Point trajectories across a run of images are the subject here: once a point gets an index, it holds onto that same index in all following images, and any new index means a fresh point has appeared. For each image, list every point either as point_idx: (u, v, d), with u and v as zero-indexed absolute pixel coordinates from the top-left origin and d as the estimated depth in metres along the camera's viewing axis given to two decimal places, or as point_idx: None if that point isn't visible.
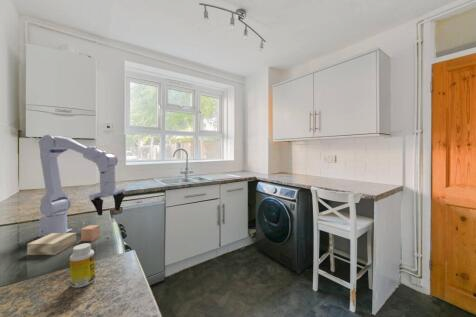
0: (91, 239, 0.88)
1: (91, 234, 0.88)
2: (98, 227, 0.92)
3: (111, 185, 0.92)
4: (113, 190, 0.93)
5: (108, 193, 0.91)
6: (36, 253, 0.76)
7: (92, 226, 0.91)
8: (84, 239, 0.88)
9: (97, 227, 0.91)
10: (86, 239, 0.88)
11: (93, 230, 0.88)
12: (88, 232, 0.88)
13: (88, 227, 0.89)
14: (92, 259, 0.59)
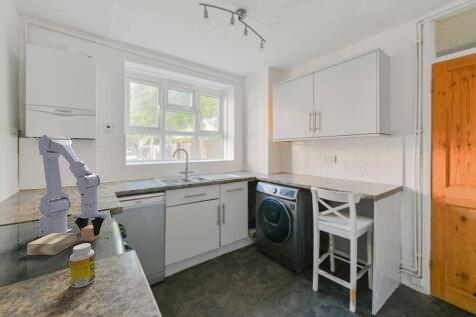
0: (91, 239, 0.88)
1: (91, 234, 0.88)
2: None
3: (84, 208, 0.87)
4: (86, 213, 0.87)
5: None
6: (36, 253, 0.76)
7: (92, 225, 0.91)
8: (84, 239, 0.88)
9: None
10: (86, 239, 0.88)
11: (93, 230, 0.88)
12: (88, 232, 0.88)
13: (88, 227, 0.89)
14: (92, 259, 0.59)
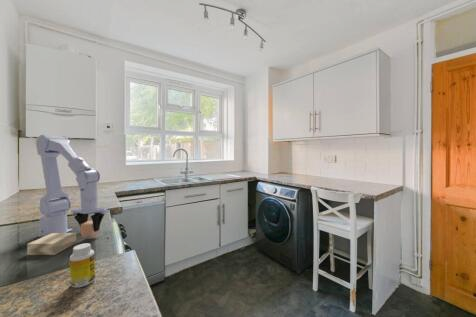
0: (91, 234, 0.88)
1: (91, 229, 0.88)
2: None
3: (83, 203, 0.87)
4: (86, 209, 0.87)
5: None
6: (36, 253, 0.76)
7: (92, 221, 0.91)
8: (84, 234, 0.88)
9: None
10: (86, 234, 0.88)
11: None
12: (87, 227, 0.88)
13: (88, 222, 0.89)
14: (92, 259, 0.59)
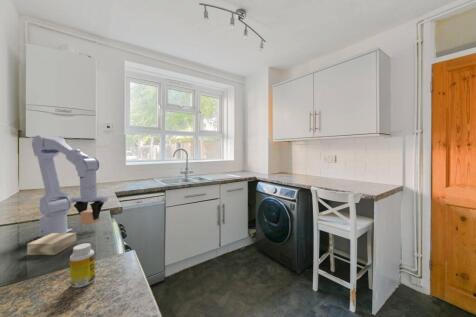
0: (90, 222, 0.87)
1: (91, 217, 0.87)
2: None
3: (83, 191, 0.86)
4: (85, 197, 0.87)
5: None
6: (36, 253, 0.76)
7: None
8: (83, 222, 0.88)
9: None
10: (85, 222, 0.87)
11: (92, 213, 0.88)
12: (87, 215, 0.87)
13: (87, 211, 0.89)
14: (92, 259, 0.59)
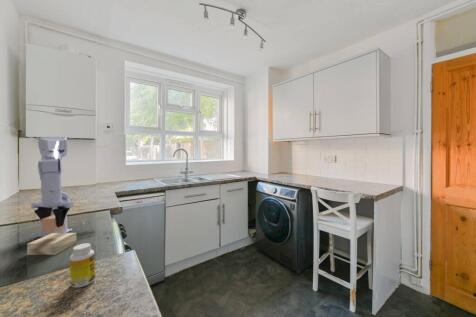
0: (53, 230, 0.79)
1: (53, 225, 0.79)
2: None
3: (44, 195, 0.78)
4: (47, 202, 0.78)
5: None
6: (36, 253, 0.76)
7: None
8: (45, 230, 0.79)
9: None
10: (47, 230, 0.79)
11: (55, 220, 0.80)
12: (49, 222, 0.79)
13: (50, 217, 0.81)
14: (92, 259, 0.59)
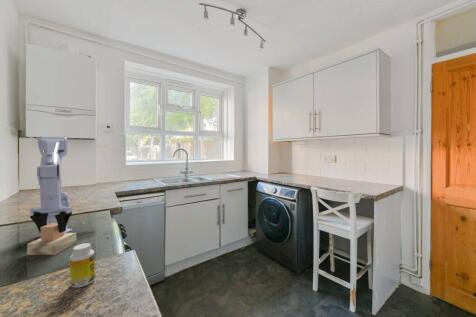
0: (52, 238, 0.79)
1: (52, 233, 0.79)
2: None
3: (43, 201, 0.78)
4: (46, 207, 0.78)
5: None
6: (36, 253, 0.76)
7: (55, 224, 0.82)
8: (44, 238, 0.79)
9: None
10: (46, 238, 0.79)
11: (54, 228, 0.79)
12: (48, 230, 0.79)
13: (49, 225, 0.81)
14: (92, 259, 0.59)
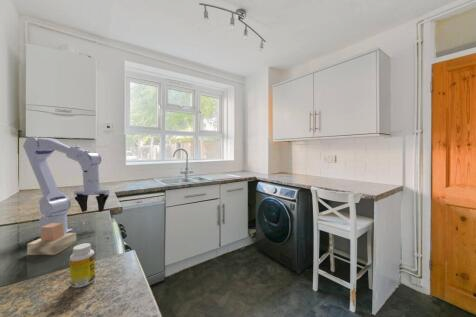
0: (52, 238, 0.79)
1: (52, 233, 0.79)
2: (62, 225, 0.83)
3: (86, 184, 0.91)
4: (88, 190, 0.91)
5: None
6: (36, 253, 0.76)
7: (55, 224, 0.82)
8: (44, 238, 0.79)
9: (60, 225, 0.82)
10: (46, 238, 0.79)
11: (54, 228, 0.79)
12: (48, 230, 0.79)
13: (49, 225, 0.81)
14: (92, 259, 0.59)
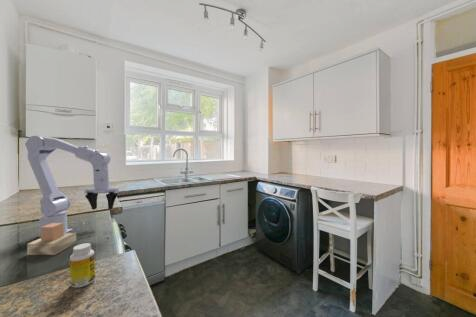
0: (52, 238, 0.79)
1: (52, 233, 0.79)
2: (62, 225, 0.83)
3: (96, 183, 0.94)
4: (98, 188, 0.95)
5: None
6: (36, 253, 0.76)
7: (55, 224, 0.82)
8: (44, 238, 0.79)
9: (60, 225, 0.82)
10: (46, 238, 0.79)
11: (54, 228, 0.79)
12: (48, 230, 0.79)
13: (49, 225, 0.81)
14: (92, 259, 0.59)
